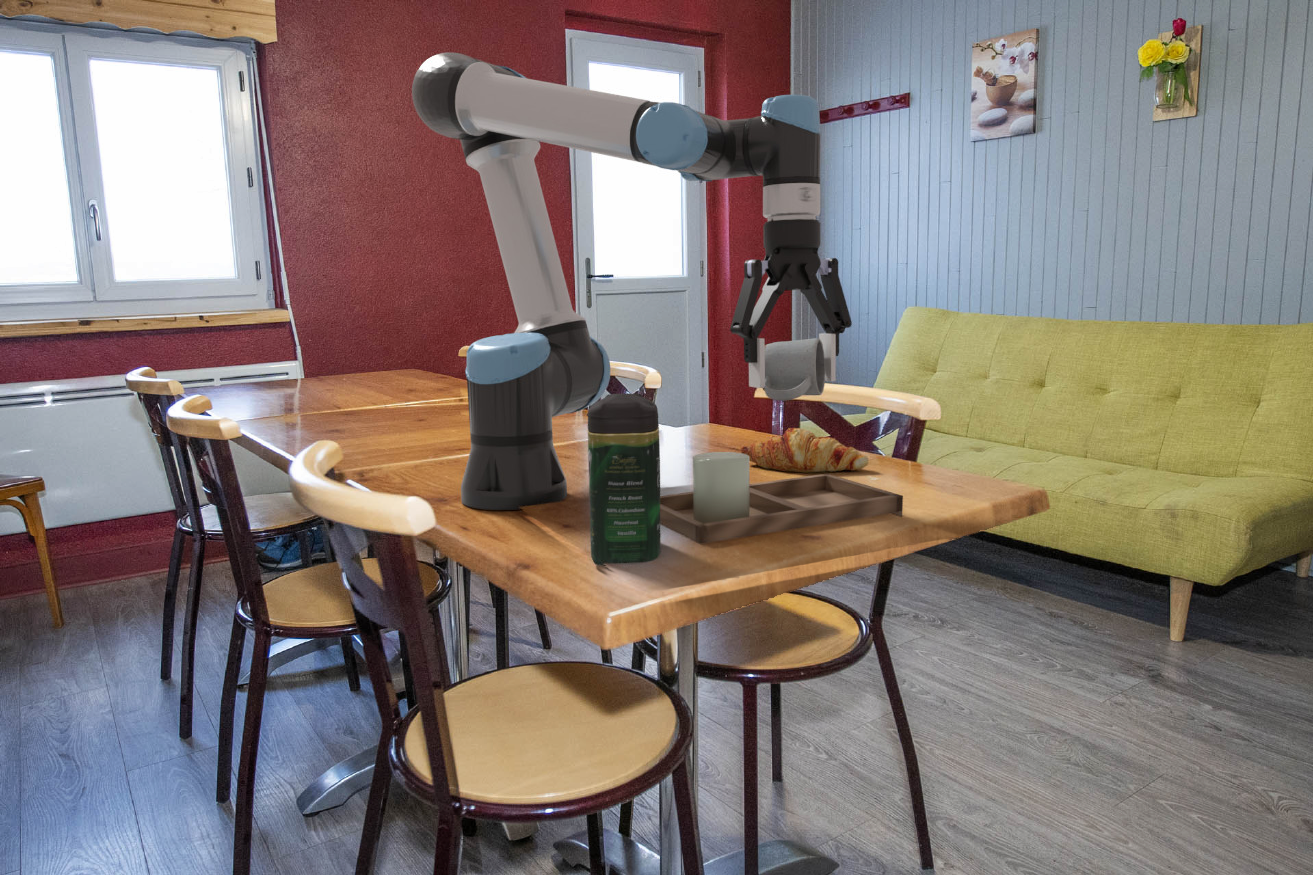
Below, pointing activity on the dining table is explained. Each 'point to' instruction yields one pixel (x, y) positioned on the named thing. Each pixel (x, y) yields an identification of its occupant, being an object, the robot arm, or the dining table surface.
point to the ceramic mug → (794, 369)
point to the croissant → (804, 453)
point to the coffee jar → (624, 479)
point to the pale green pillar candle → (721, 486)
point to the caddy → (783, 508)
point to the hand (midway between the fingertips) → (792, 383)
